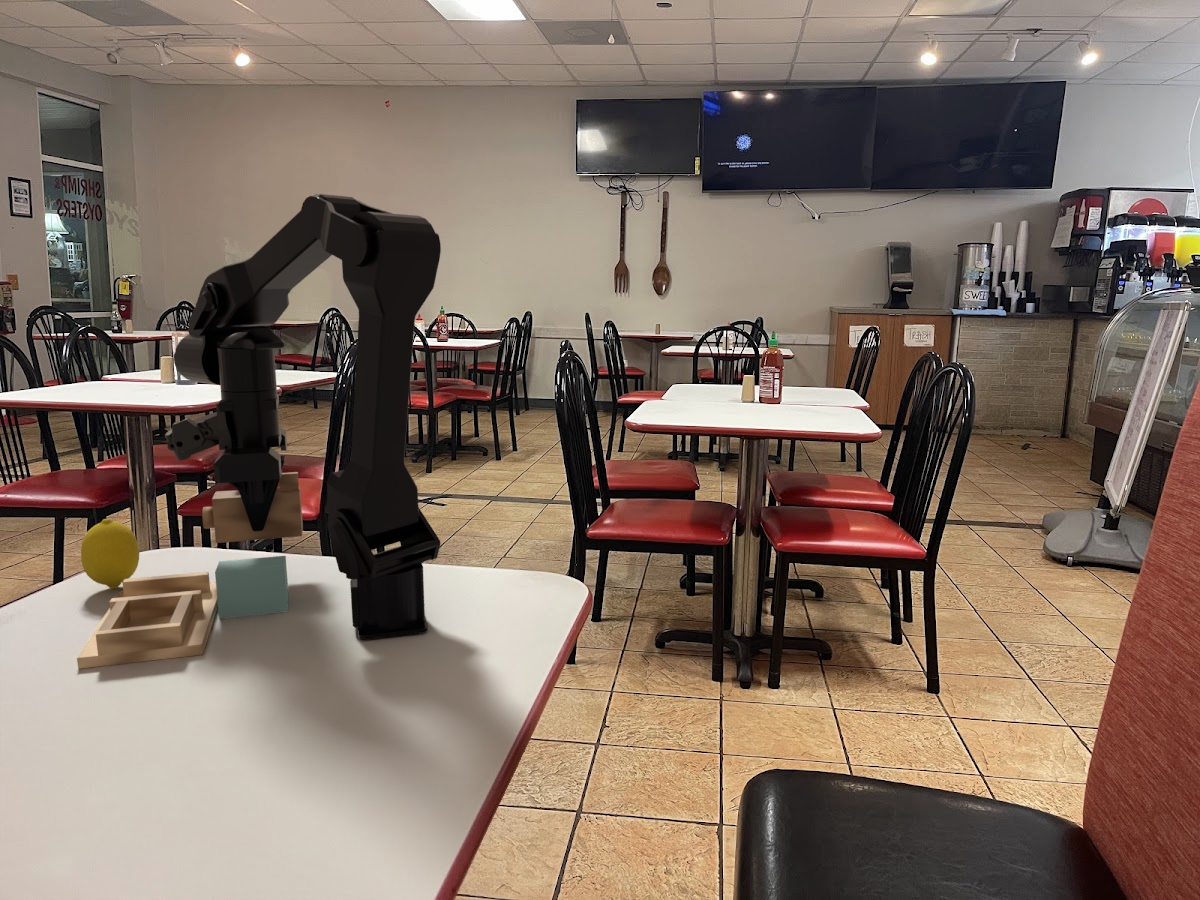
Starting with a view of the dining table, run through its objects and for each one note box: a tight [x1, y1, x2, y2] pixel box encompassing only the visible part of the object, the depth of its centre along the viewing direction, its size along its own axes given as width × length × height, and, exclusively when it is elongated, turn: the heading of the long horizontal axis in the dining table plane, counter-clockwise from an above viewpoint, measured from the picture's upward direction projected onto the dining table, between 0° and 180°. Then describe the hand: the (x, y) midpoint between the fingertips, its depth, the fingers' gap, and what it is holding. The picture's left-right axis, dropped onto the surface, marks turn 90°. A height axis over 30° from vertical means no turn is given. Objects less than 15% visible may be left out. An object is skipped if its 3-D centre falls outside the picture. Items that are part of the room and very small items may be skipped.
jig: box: [76, 571, 218, 670], centre depth 84 cm, size 10×17×3 cm, turn 18°
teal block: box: [214, 555, 290, 619], centre depth 88 cm, size 4×6×5 cm, turn 108°
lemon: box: [80, 518, 140, 590], centre depth 93 cm, size 6×6×8 cm
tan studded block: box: [201, 471, 304, 544], centre depth 96 cm, size 10×4×7 cm, turn 108°
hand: (259, 525), depth 96 cm, fingers closed on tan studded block, 3 cm apart
